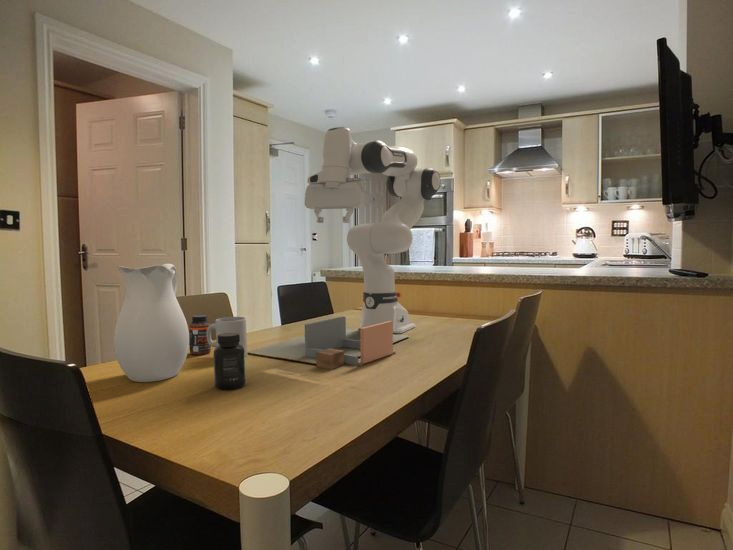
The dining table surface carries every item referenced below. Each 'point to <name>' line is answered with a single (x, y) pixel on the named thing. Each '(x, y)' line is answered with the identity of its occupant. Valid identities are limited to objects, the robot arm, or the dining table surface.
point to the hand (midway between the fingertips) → (332, 222)
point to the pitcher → (151, 325)
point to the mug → (229, 330)
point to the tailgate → (376, 341)
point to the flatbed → (330, 338)
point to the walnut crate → (330, 358)
